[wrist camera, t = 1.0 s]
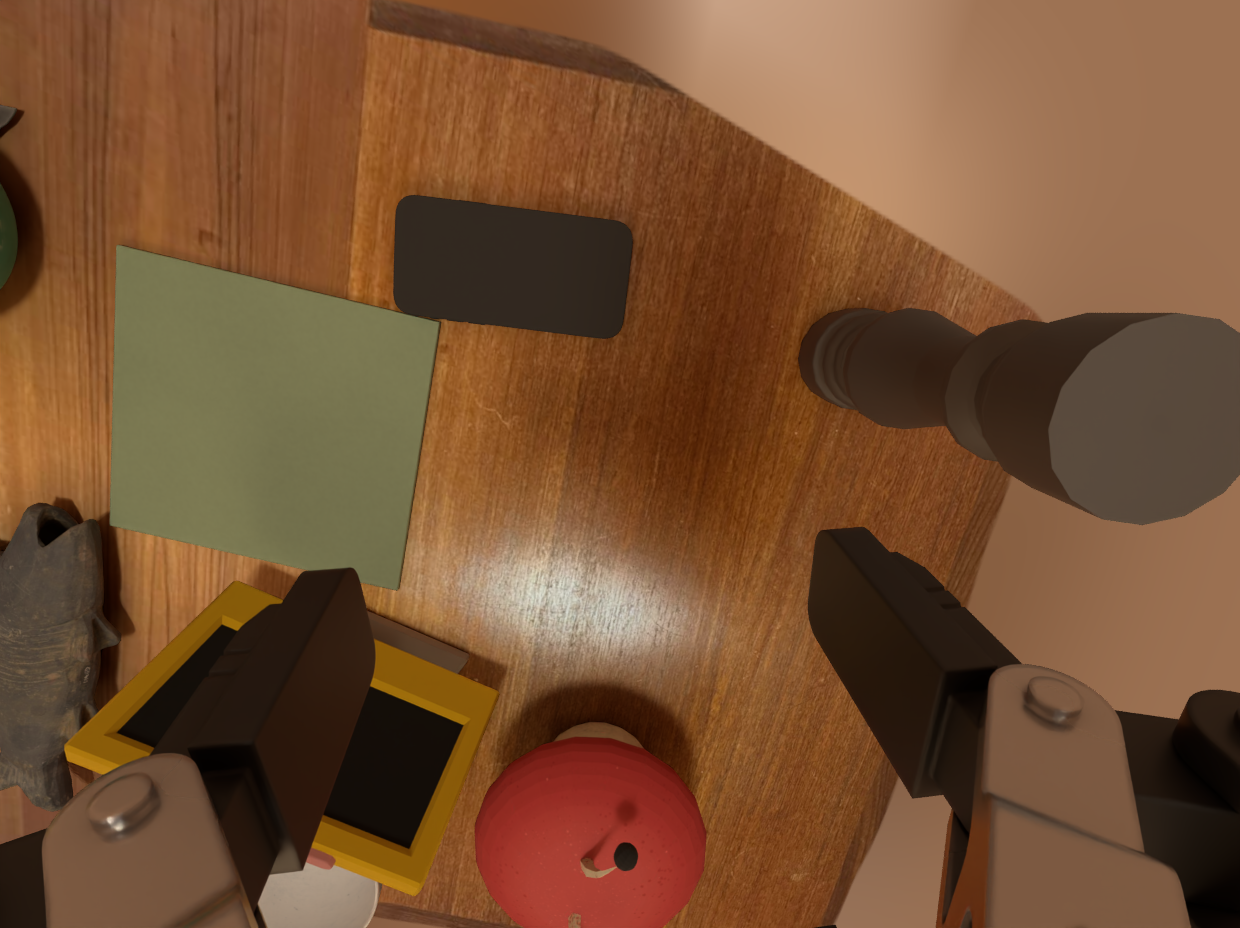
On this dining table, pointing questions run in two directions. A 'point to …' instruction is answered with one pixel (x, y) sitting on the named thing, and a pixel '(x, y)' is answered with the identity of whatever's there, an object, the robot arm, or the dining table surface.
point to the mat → (266, 417)
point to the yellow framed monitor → (377, 752)
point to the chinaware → (319, 899)
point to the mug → (7, 238)
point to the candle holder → (1053, 399)
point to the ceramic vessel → (49, 648)
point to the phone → (511, 266)
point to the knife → (6, 115)
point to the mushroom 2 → (590, 834)
